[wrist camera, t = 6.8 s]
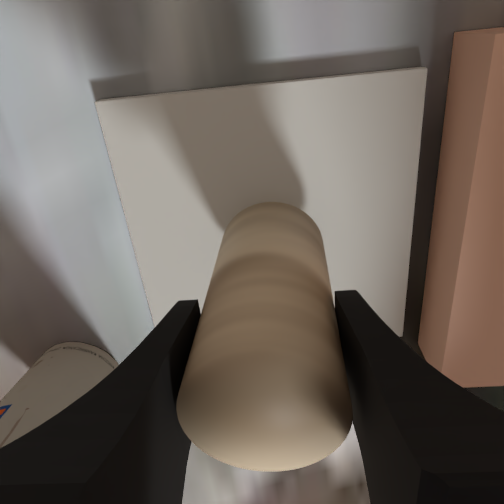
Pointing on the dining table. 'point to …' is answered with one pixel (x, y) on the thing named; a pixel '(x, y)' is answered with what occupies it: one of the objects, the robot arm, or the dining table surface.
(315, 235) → the plug
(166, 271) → the mat
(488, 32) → the square board with hole
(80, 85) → the dining table surface
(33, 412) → the coffee cup
